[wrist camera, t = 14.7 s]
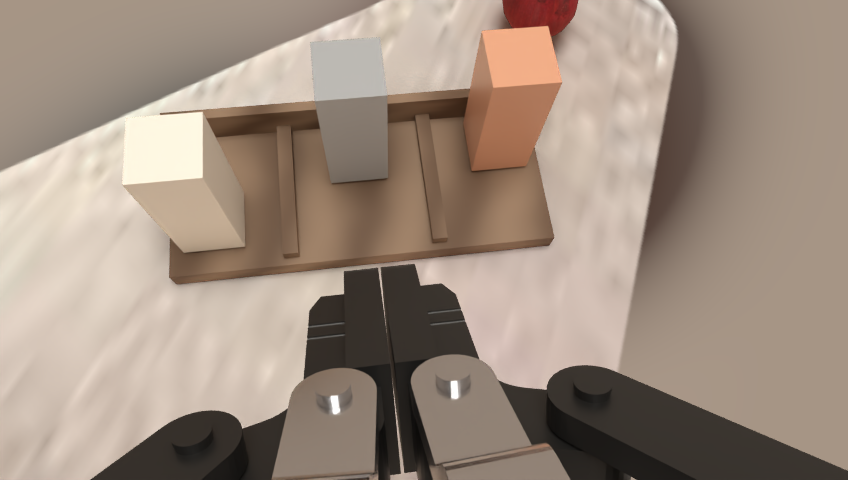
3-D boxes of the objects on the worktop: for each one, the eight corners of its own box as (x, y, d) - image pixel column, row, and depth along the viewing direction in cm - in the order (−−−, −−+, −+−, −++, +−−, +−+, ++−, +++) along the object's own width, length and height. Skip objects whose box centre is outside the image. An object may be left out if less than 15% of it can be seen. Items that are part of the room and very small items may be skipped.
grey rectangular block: (331, 183, 43) (314, 101, 34) (327, 134, 44) (310, 42, 35) (388, 178, 43) (387, 95, 34) (382, 129, 45) (379, 37, 35)
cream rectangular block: (183, 252, 41) (122, 184, 31) (184, 198, 42) (125, 118, 33) (245, 246, 41) (202, 177, 32) (243, 192, 42) (202, 111, 33)
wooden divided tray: (176, 284, 42) (155, 264, 38) (179, 143, 46) (160, 113, 42) (549, 245, 44) (563, 223, 40) (520, 114, 48) (531, 83, 44)
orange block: (471, 171, 44) (493, 87, 35) (463, 123, 45) (481, 30, 36) (526, 165, 44) (562, 82, 35) (516, 118, 46) (548, 26, 36)
